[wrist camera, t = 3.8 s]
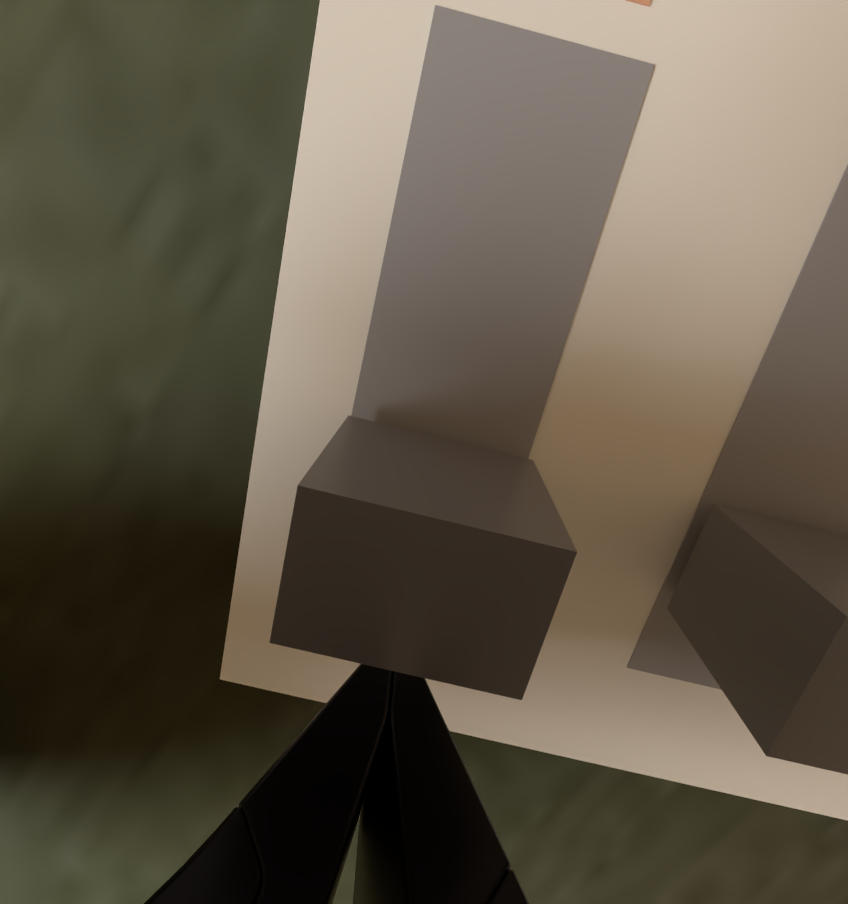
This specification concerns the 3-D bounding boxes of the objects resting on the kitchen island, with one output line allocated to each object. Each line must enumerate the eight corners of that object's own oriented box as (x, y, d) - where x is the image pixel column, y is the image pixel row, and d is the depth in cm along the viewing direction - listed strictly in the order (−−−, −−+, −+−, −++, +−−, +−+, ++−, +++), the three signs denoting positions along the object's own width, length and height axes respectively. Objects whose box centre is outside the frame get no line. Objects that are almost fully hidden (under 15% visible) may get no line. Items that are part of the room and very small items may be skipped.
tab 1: (325, 527, 9) (269, 643, 6) (348, 414, 8) (298, 484, 6) (498, 568, 9) (521, 700, 6) (533, 460, 8) (577, 551, 6)
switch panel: (254, 618, 12) (219, 680, 10) (380, -142, 8) (359, -274, 6) (977, 784, 13) (1070, 872, 11) (1449, 159, 9) (1735, 124, 7)
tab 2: (666, 608, 9) (766, 757, 6) (713, 504, 9) (846, 616, 6) (831, 647, 9) (1001, 809, 6) (889, 547, 9) (1106, 678, 6)
